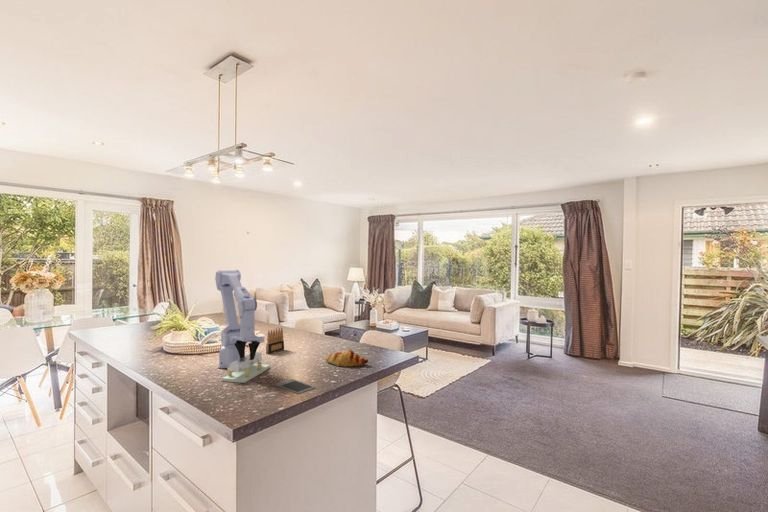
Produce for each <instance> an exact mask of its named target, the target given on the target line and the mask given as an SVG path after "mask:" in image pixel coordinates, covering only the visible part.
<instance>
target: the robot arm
mask: <svg viewBox="0 0 768 512" xmlns="http://www.w3.org/2000/svg"><path fill="white" fill-rule="evenodd" d="M214 280H215V285H216V290H218V291H219V292H220V294H221V298H222V299H221V301H222V305H223V311H224V317H225V318H224V319H225V323H226V325H225V326H224V327H223V328H222V330H221V333H220V343H221V348H220V349H219V353H218V366H217V369H218V368H219V369H228V368H230V363H232V362H234V361H236V360H238V359H240V358H243V357H245V356H246V352H245V351H246V344H247V343H248V348H249V354H250V360H253V359H254V358H255V354H256V352H257V350H258V348H259V346H260V344H263V343H265V337H264V336H256V334H255V327H256V326H255V323H256V321H255V320H256V319H255V311H256V310H257V308H258V302H257V301H258V300H257V298H256V297H255V296H251V294H250V293H249V291H248V289H247V288H246V287H244V286H243V285H242V283H241V280H242V277H241V272H240V270H239V269H233V270H228V269H227V270H217V271H216V272H215V277H214ZM234 298H235V299H234ZM235 300H236V302H237V309H238V315H237V310H236V304H235ZM238 317H239V322H238Z"/></svg>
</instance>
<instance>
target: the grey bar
mask: <svg viewBox="0 0 768 512" xmlns="http://www.w3.org/2000/svg"><path fill="white" fill-rule="evenodd" d="M262 355H263V354H262V352H260V351H256V354H255V358H254V359H253V360H250V353H249V354H246V355H245V357H243V358H240V359H238V360H236V361H234V362H232V363H230V371H232V372H235V371H236V372H239V371H241V370H243V369H245V368H247V367H249V366H251V365H253V364H257V363H258V362H262V360H263V359H262Z"/></svg>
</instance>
